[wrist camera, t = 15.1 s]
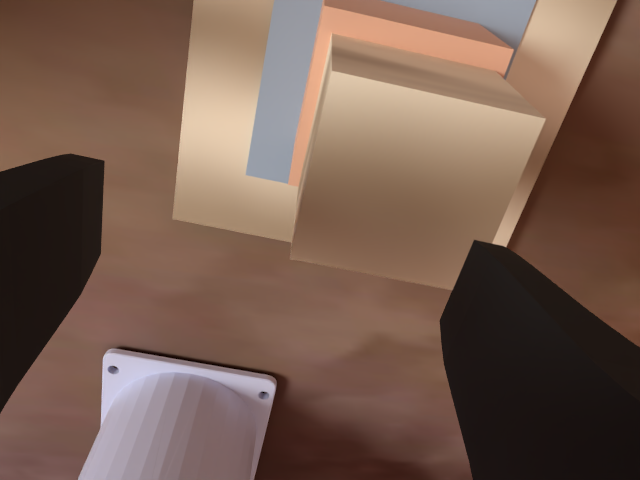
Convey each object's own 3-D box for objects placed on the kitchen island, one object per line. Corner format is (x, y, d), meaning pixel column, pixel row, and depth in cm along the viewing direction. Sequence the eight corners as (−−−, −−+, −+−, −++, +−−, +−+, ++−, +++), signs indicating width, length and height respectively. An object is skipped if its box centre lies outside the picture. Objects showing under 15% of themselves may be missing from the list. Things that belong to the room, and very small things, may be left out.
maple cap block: (441, 216, 17) (470, 293, 13) (298, 186, 16) (289, 258, 13) (495, 70, 15) (545, 118, 11) (331, 33, 14) (331, 70, 11)
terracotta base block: (430, 166, 20) (451, 217, 17) (295, 137, 20) (287, 184, 16) (478, 23, 18) (513, 49, 14) (325, -13, 17) (324, 5, 14)
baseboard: (487, 273, 23) (491, 282, 23) (176, 211, 22) (171, 220, 22) (640, -75, 17) (652, -75, 16) (216, -188, 16) (211, -192, 15)
